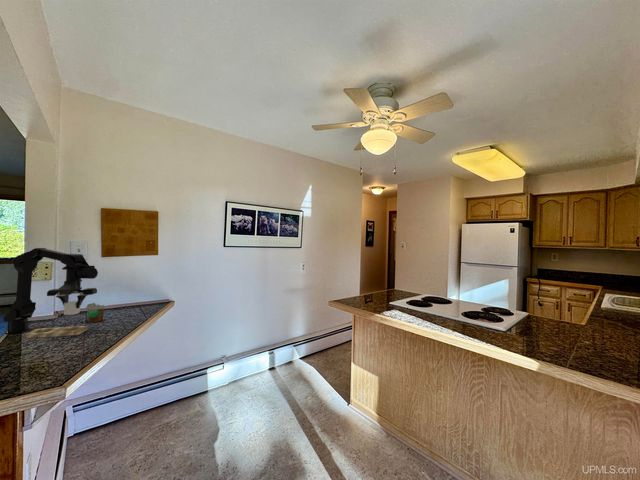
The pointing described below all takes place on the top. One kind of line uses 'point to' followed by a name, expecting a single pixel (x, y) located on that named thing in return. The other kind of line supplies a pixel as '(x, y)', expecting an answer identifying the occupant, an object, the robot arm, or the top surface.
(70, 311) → the nut block
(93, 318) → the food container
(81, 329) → the rail
